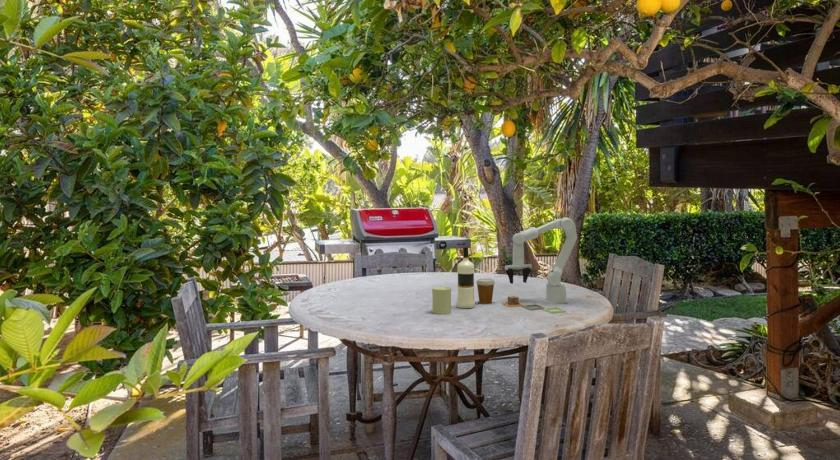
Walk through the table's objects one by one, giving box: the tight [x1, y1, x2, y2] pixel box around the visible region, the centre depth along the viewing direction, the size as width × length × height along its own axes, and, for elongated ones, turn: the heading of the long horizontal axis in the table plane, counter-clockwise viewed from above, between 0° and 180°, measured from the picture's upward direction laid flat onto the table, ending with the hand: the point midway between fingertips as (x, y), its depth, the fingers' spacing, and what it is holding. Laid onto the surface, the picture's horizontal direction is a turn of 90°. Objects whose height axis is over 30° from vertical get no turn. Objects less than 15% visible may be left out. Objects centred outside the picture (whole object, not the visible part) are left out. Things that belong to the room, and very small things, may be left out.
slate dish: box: [521, 303, 546, 311], centre depth 284 cm, size 8×8×1 cm
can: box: [431, 286, 452, 315], centre depth 278 cm, size 9×9×12 cm
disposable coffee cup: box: [475, 278, 496, 305], centre depth 298 cm, size 10×10×12 cm
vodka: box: [456, 246, 476, 310], centre depth 288 cm, size 9×9×30 cm
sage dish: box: [542, 306, 567, 315], centre depth 277 cm, size 8×8×1 cm
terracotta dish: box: [501, 301, 525, 308], centre depth 291 cm, size 8×8×1 cm
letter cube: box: [507, 295, 520, 305], centre depth 290 cm, size 4×4×4 cm
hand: (518, 282), depth 300 cm, fingers open, 7 cm apart
